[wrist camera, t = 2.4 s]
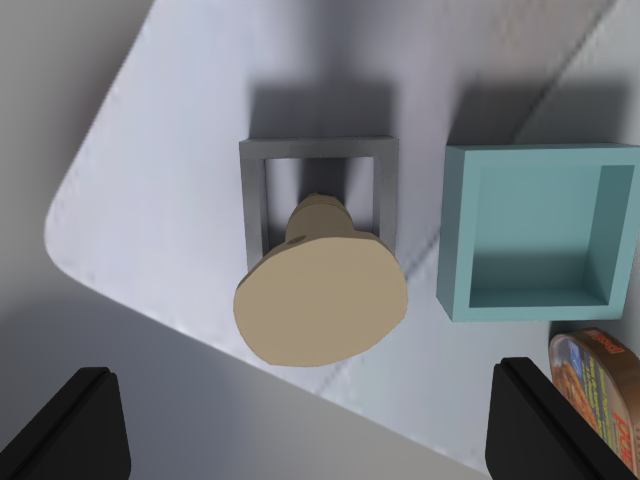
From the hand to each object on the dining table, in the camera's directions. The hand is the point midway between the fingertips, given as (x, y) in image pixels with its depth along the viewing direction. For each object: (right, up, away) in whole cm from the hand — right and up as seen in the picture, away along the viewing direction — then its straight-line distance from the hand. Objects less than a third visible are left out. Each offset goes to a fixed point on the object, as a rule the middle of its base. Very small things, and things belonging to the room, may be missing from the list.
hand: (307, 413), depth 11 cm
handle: (0, +6, +20) cm, 21 cm away
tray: (+14, +5, +20) cm, 25 cm away
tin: (+21, -8, +24) cm, 33 cm away
